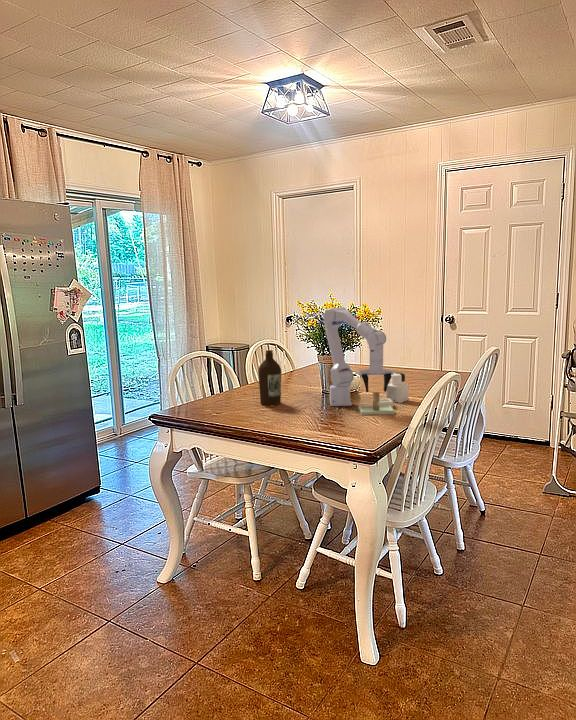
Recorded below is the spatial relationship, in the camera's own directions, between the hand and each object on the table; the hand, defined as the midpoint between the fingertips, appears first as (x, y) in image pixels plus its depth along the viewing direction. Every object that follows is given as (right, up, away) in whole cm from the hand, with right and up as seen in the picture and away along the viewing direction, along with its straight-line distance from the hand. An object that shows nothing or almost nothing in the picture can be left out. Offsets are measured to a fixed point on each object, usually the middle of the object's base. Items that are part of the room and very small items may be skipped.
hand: (376, 391), depth 230 cm
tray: (0, -9, +1) cm, 9 cm away
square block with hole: (+5, -7, +10) cm, 14 cm away
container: (+13, -6, +21) cm, 25 cm away
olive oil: (-46, -7, +20) cm, 51 cm away
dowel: (0, -8, +1) cm, 8 cm away
